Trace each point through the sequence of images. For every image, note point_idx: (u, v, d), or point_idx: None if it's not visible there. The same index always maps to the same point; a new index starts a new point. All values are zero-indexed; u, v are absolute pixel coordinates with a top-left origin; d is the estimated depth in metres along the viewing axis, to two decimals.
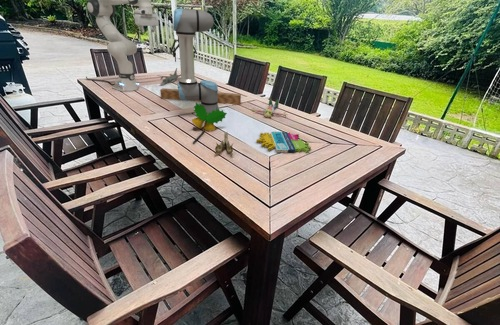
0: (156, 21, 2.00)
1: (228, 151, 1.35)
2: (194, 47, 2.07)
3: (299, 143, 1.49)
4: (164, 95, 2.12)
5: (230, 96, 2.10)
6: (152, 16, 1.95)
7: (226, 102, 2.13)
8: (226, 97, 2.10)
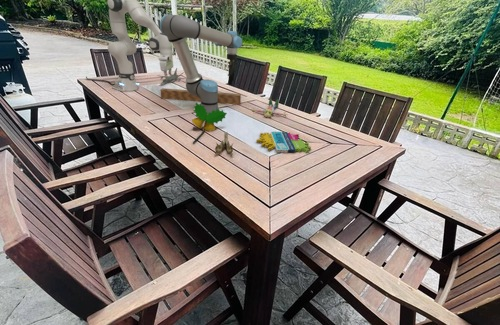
0: (172, 63, 2.10)
1: (228, 151, 1.35)
2: None
3: (299, 143, 1.49)
4: (164, 95, 2.12)
5: (230, 96, 2.10)
6: (170, 60, 2.05)
7: (226, 102, 2.13)
8: (226, 97, 2.10)
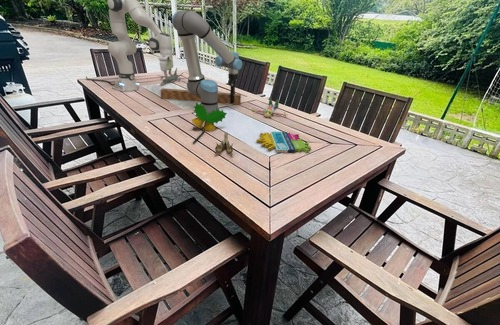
0: (172, 63, 2.10)
1: (228, 151, 1.35)
2: None
3: (299, 143, 1.49)
4: (164, 95, 2.12)
5: None
6: (170, 60, 2.05)
7: (226, 102, 2.13)
8: (226, 97, 2.10)
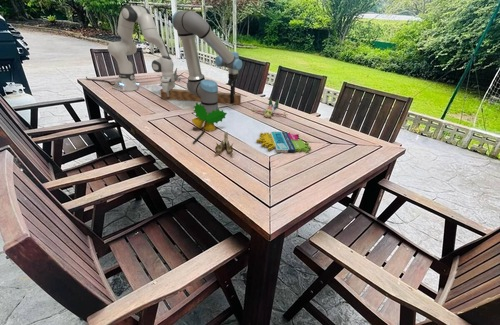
0: (174, 84, 2.18)
1: (228, 151, 1.35)
2: None
3: (299, 143, 1.49)
4: (164, 95, 2.12)
5: None
6: None
7: (226, 102, 2.13)
8: (226, 97, 2.10)
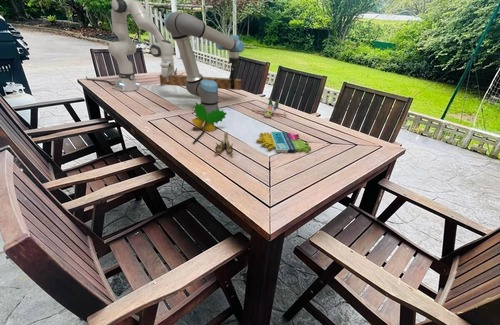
0: (173, 69, 2.14)
1: (228, 151, 1.35)
2: (235, 72, 2.12)
3: (299, 143, 1.49)
4: (163, 80, 2.09)
5: (230, 81, 2.07)
6: (172, 66, 2.10)
7: (226, 88, 2.09)
8: (227, 82, 2.07)
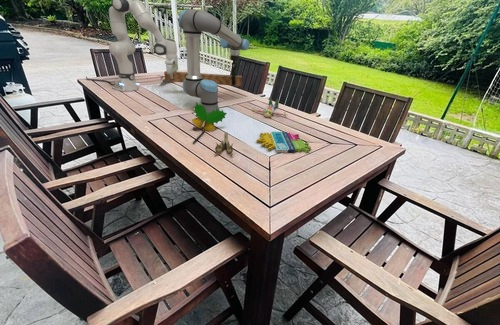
0: (177, 67, 2.25)
1: (228, 151, 1.35)
2: None
3: (299, 143, 1.49)
4: (168, 77, 2.20)
5: None
6: (176, 63, 2.20)
7: (228, 84, 2.20)
8: (228, 78, 2.18)
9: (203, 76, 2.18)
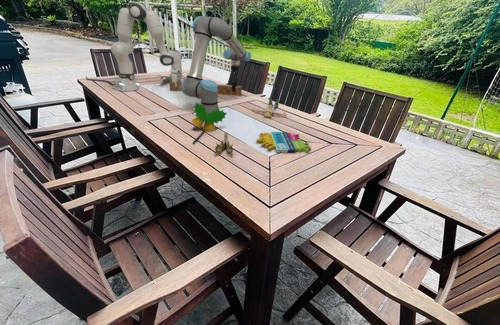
0: (181, 75, 2.41)
1: (228, 151, 1.35)
2: None
3: (299, 143, 1.49)
4: (173, 87, 2.36)
5: None
6: None
7: (228, 94, 2.37)
8: (229, 88, 2.35)
9: None
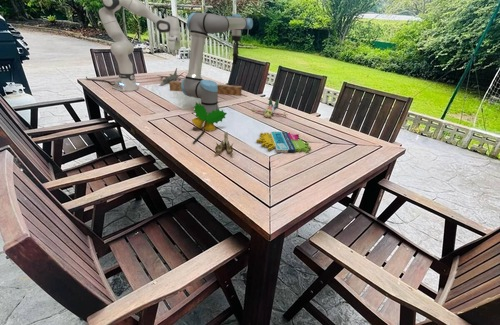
0: (179, 45, 2.28)
1: (228, 151, 1.35)
2: None
3: (299, 143, 1.49)
4: (173, 87, 2.36)
5: (232, 88, 2.34)
6: None
7: (228, 94, 2.37)
8: (229, 88, 2.35)
9: None
